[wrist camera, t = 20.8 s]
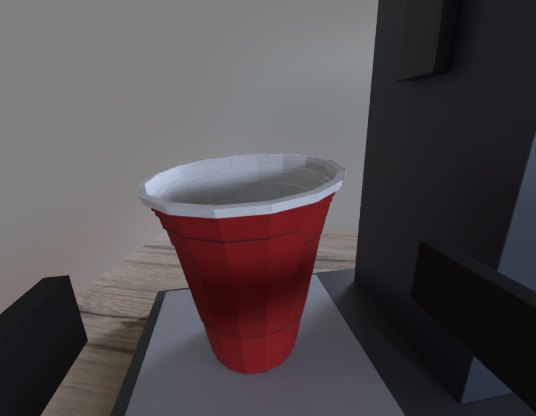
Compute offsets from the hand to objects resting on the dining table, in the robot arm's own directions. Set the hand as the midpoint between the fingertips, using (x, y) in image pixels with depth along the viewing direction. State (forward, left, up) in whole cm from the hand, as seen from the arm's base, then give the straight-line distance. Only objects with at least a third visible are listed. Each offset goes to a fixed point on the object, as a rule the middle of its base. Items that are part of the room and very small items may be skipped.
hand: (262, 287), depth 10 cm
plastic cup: (-2, -5, -8) cm, 10 cm away
